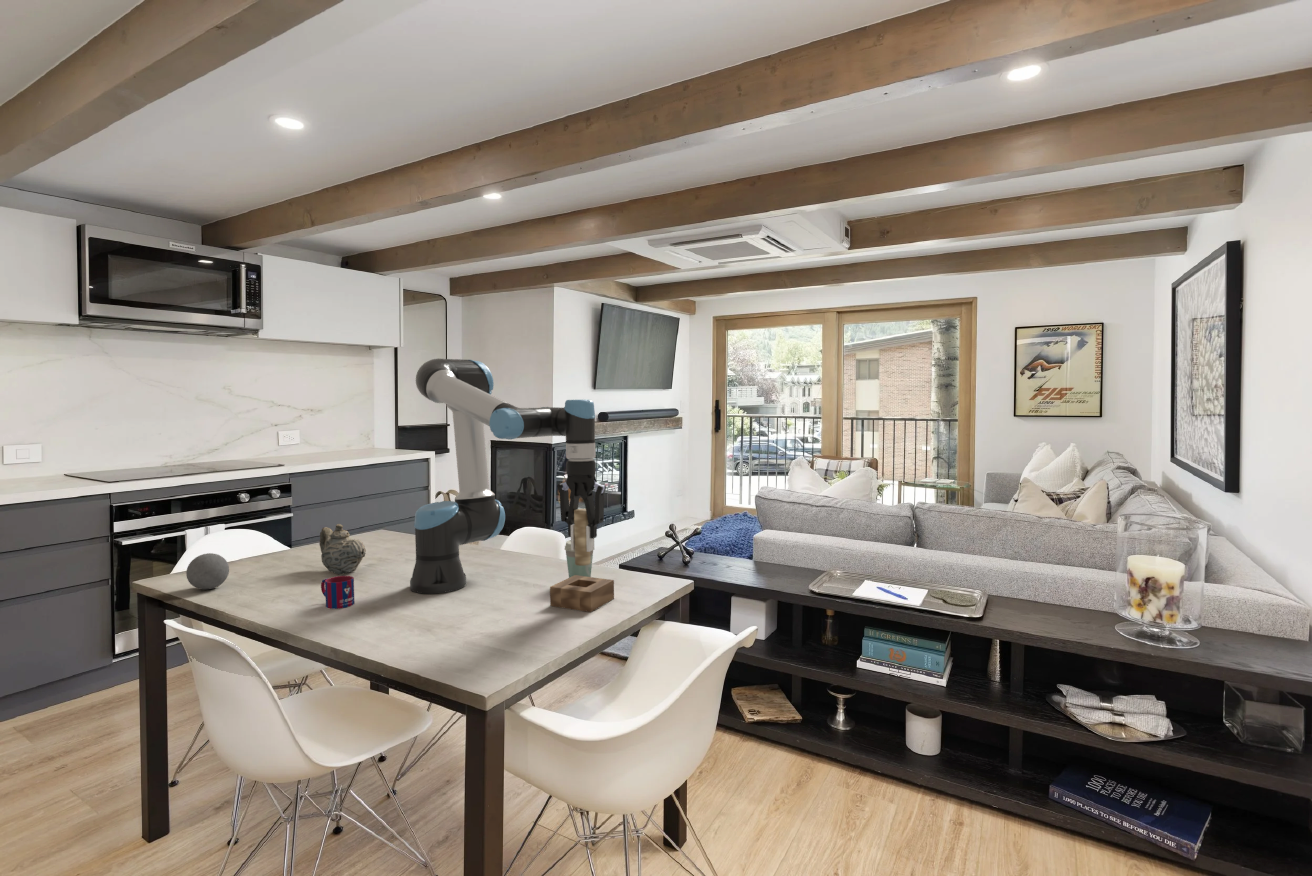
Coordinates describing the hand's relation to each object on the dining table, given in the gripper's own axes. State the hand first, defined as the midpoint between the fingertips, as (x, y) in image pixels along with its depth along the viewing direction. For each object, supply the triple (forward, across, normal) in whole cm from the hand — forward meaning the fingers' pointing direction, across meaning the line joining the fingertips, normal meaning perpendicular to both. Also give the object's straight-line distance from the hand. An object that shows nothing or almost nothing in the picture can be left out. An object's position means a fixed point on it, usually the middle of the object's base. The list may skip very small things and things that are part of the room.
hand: (582, 549), depth 171 cm
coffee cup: (+14, -10, +15) cm, 23 cm away
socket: (+14, 0, 0) cm, 14 cm away
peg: (+4, 0, 0) cm, 4 cm away
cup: (+14, -58, -27) cm, 66 cm away
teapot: (+13, -84, -4) cm, 86 cm away
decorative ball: (+13, -103, -32) cm, 109 cm away
